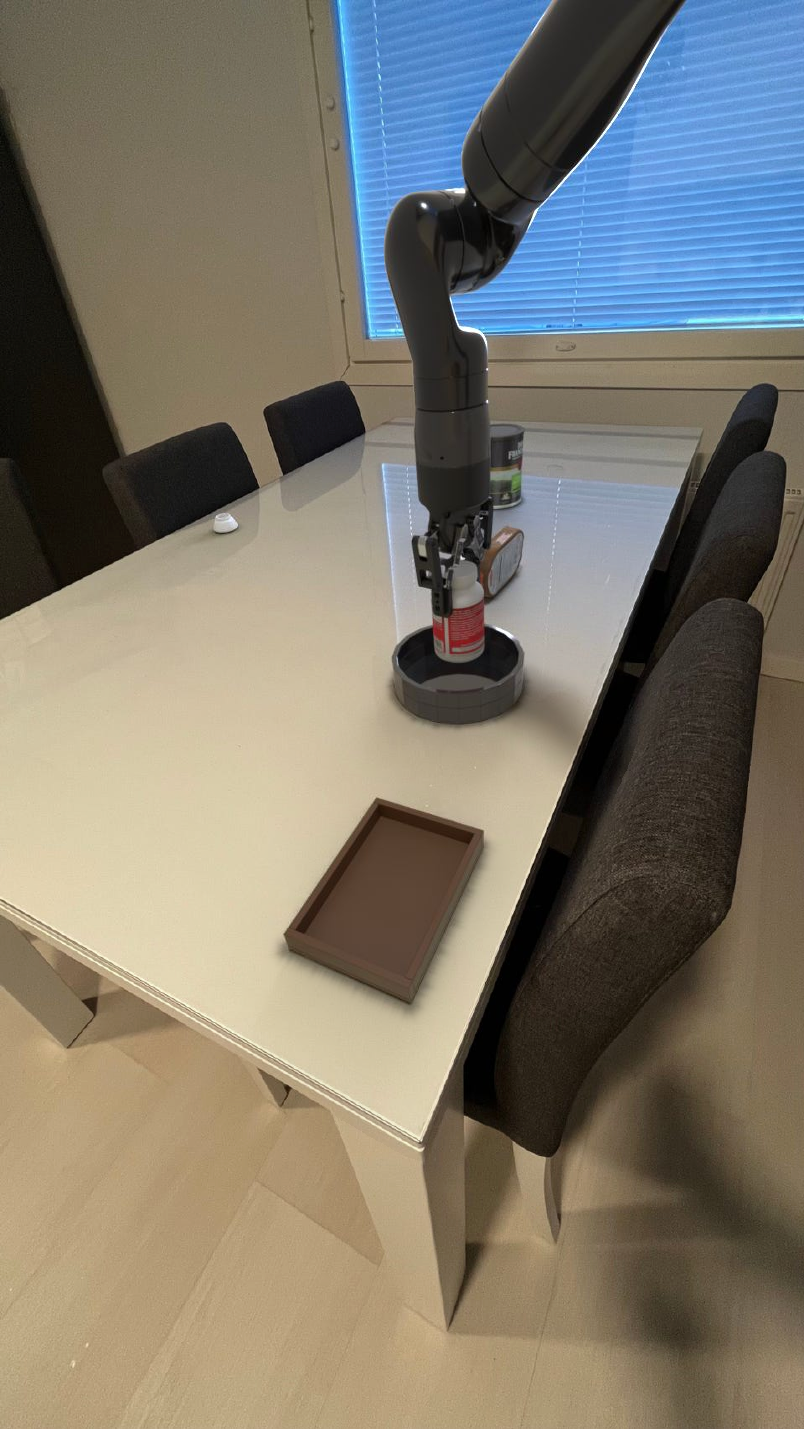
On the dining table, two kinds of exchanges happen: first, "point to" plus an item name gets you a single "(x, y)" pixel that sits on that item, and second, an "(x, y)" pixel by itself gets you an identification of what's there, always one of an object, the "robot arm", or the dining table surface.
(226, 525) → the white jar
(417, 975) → the tray
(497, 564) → the tin
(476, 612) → the pill bottle
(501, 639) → the bowl
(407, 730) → the dining table surface
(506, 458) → the coffee can
